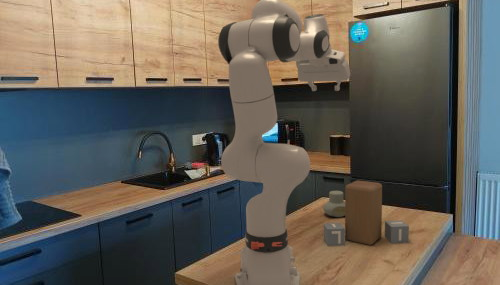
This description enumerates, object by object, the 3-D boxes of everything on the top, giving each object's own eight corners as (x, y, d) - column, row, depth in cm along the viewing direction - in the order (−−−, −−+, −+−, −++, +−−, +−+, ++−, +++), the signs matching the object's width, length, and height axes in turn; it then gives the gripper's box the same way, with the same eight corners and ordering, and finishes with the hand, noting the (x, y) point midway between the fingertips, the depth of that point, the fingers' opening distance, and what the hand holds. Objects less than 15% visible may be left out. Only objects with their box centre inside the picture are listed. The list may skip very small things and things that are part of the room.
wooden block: (356, 231, 143) (356, 179, 141) (382, 237, 137) (383, 182, 134) (344, 240, 136) (344, 185, 133) (371, 246, 129) (372, 188, 127)
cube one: (408, 243, 131) (409, 225, 131) (391, 243, 131) (391, 226, 130) (401, 236, 138) (401, 219, 137) (384, 237, 137) (384, 220, 137)
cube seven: (345, 245, 131) (345, 228, 130) (327, 246, 131) (327, 228, 130) (340, 238, 137) (340, 222, 136) (323, 239, 137) (323, 222, 136)
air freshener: (344, 211, 168) (344, 189, 167) (352, 217, 160) (352, 193, 158) (320, 213, 166) (320, 190, 165) (327, 219, 158) (327, 195, 157)
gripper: (292, 62, 147) (298, 94, 154) (344, 59, 137) (348, 93, 144) (298, 55, 152) (304, 86, 159) (349, 52, 141) (353, 86, 148)
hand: (325, 90), depth 151 cm, fingers open, 8 cm apart
